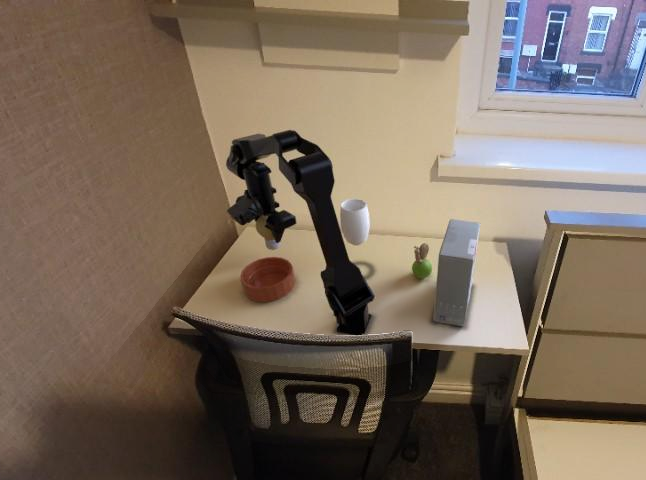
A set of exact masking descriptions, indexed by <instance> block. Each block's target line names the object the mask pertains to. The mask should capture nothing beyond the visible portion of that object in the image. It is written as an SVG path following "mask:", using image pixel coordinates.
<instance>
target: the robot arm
mask: <svg viewBox="0 0 646 480" xmlns="http://www.w3.org/2000/svg"><path fill="white" fill-rule="evenodd" d="M293 151H297V152H298V153H299V154H302V156H298V157H296V158H292V159H289V160H287V159H286V158H285V157H284V155H283V154H285V153H290V152H293ZM271 155H276V156H277V157H278V170H279V171H280V173H281V174H282V175H283V176H284V178H285V179H286V180H287V181H288V183H289V184H290V185H291V188H292V189H293V192H294V193H295V194H296V195H298V196H299V197H300V198H301V199H303V200H304V201H305V203H306V205H307V209H308V211H309V215H310V218H311V221H312V224H313V227H314V230H315V233H316V236H317V240H318V243H319V246H320V249H321V253H322V255H323V259H324V261H325V269H324V270H321V271H320V278H321V281H322V284H323V289H324V295H325V297H326V300H327V303H328V306H329V308H330V310H331V311H332V312H333V316H334V317H335V320H336V324H337V326H336V327H337V328H336V330H335V331H336V332H337V333H341V334H346V335H351V336H352V335H353V336H358V335H362V334H364V335H365V334H366V332H367V329H368V326H369V324H370V322H371V319H372V315H371V314H370V313H369V303H372V302H374V300H375V294H374V292H373V290H372V289H371V287H370V285H369V283H368V282H367V280H366V278H365V277H364V275H363V274H362V271H361V269H360V267H359V266H357V265H356V264H355V263H354V262H353V261H351V260H350V258H349V255H348V254H349V253H348V251H347V250H348V249H347V247H346V244H345V241H344V236H343V232H342V229H341V225H340V224H339V220H338V216H337V213H336V209H335V206H334V203H333V200H332V194H333V190H334V186H335V181H336V179H335V174H334V169H333V168H334V167H333V163H332V160H331V159H330V157H329V156H328V155H327V154H326V152H324V150H323V149H322V148H321V147H320V146H319V145H318V144H316V143H314V142H312V141H311V140H307V139H305V138H303V137H301V135H300V134H299V133H298V132H297V131H296V130H292V129H286V130H283V131H279V132H275V133H273V134H271V135H267V136H266V135H265V134H263V133H255V134H251V135H246V136H242V137H238V138H235V139H232V141H231V145H230V149H229V155H228V157H227V158H226V161H225V162H226V163H225V167H226V169H227V170H228V171H229V172H230V173H232V174H233V175H235V176H236V177H237V178H239V179H240V180H243V181H244V182H245V187H246V189H245V190H243V191H244V192H243V195H242V194H241V195H239V196H237V197H236V200H235V203H234V204H232V206H230V207H229V208H228V209H227V210H226V212H227V213H228V215H229V216H230V217H231V218H232V219H233V220H234V221H235V222H236V223H237V224H239V225H240V226H245V225H247V224H250V223H251V222H253V221H254V222H255V223H256V221H257V220H258V218H259V217H261V216H264V217H266V216H268V218H267V220H266V224H267V225H265V226H264V227H266V228H267V229H269V230H271V232H272V235H273V237H274V240H275V242H276V243H279V242H280V243H281V241H282V238H283V236H284V233H285V231H286V229H289V228H291V227H293V226H295V225H297V218H296V215H294V214H292V213H291V212H289V211H288V210H285V209H282V210H280V211H278V210H276V209H278V208H280V207H281V206H280V203H279V202H278V201H276V198H275V194H277V193H278V192H277V188H276V187H274V186H273V185H272V180H271V175H270V174H271V173H272V169H271V168H270V167H269V166H268V165H267V164H266V163H265V162H261V161H260V160H263V159H267V158H269V157H270V156H271Z"/></svg>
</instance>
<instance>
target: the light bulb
mask: <svg viewBox="0 0 646 480" xmlns="http://www.w3.org/2000/svg"><path fill="white" fill-rule="evenodd" d="M267 218H268V216H266V217H264V216H261V217H259V218H258V220H257V221H256V222H255V230H256V232H257V234H259V235H260V237H262V238H264V244H265V247H266V249H267V250H270V251H274V250H277V249H279V248H280V247H281V241H280V242H279V243H276V242H275V240H274V237H273V235H272V232H271V230H269V229H267V228H266V227H264V226H265V225H267V224H266V220H267Z"/></svg>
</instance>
